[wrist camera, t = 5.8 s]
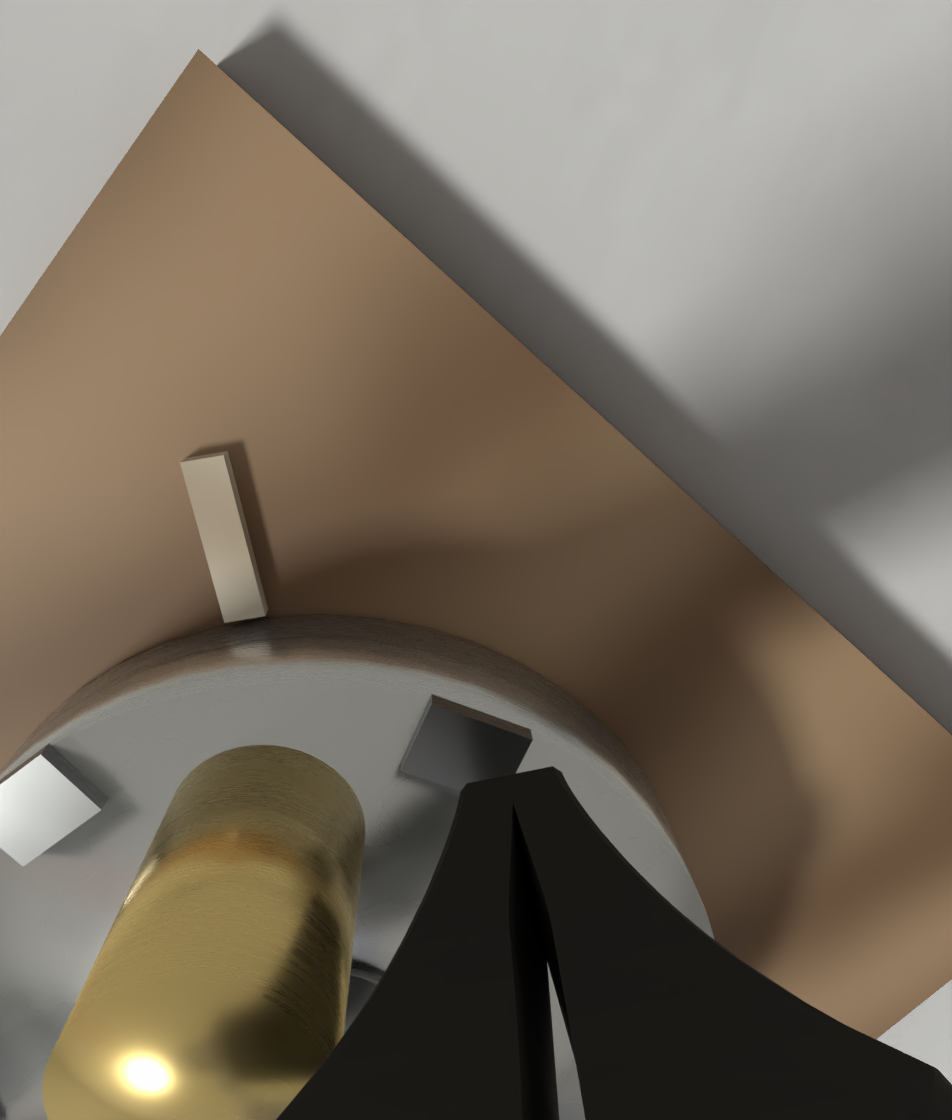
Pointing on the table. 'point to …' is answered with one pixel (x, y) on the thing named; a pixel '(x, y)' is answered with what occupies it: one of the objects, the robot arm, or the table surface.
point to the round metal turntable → (261, 855)
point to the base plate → (438, 535)
